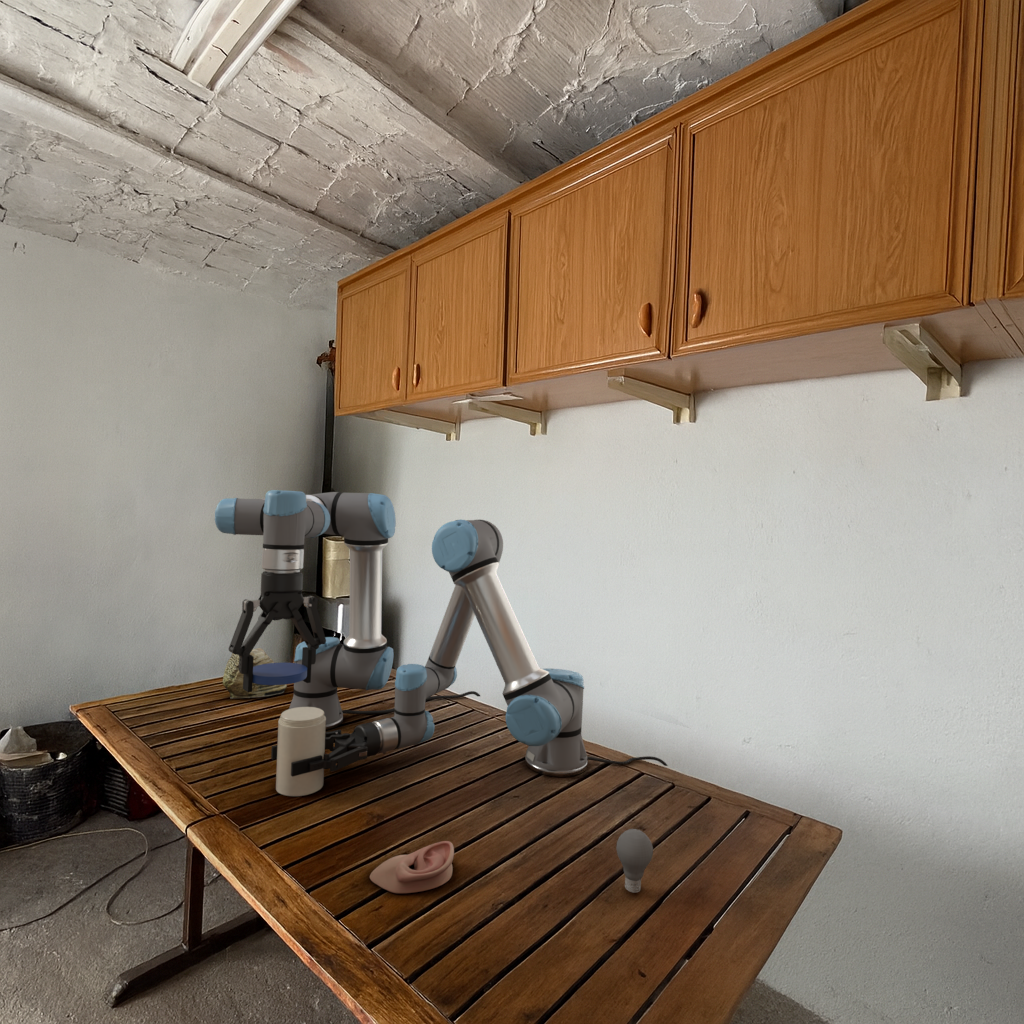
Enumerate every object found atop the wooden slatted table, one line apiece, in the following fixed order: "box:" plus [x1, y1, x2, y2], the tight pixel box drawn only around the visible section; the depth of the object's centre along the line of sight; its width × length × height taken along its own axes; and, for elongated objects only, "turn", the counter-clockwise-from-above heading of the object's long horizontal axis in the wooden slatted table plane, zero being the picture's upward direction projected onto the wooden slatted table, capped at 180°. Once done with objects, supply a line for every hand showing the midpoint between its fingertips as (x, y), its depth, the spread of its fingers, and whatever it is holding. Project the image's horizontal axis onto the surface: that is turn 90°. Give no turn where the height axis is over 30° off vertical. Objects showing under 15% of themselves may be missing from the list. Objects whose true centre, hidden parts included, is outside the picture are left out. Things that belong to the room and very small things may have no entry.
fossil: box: [222, 647, 288, 699], centre depth 198 cm, size 9×18×15 cm, turn 132°
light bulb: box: [615, 828, 654, 894], centre depth 106 cm, size 6×6×10 cm
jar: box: [275, 707, 327, 797], centre depth 138 cm, size 10×10×16 cm
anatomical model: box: [369, 840, 455, 894], centre depth 107 cm, size 13×4×12 cm
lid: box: [253, 662, 307, 685], centre depth 121 cm, size 11×11×2 cm
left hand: (277, 685), depth 121 cm, fingers closed on lid, 11 cm apart
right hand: (281, 761), depth 135 cm, fingers closed on jar, 10 cm apart
